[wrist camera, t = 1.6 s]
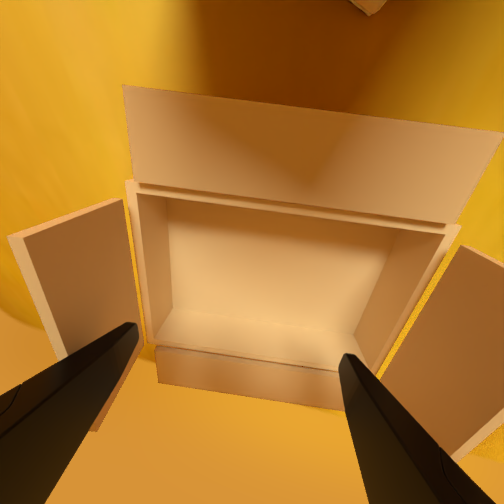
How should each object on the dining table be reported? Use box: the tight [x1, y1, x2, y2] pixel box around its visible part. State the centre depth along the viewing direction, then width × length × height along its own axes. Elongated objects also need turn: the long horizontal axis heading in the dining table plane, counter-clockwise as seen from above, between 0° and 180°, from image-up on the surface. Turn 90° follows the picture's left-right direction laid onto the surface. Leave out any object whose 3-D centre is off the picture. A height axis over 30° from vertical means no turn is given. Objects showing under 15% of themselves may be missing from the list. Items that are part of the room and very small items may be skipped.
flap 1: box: [6, 198, 144, 432], centre depth 10 cm, size 5×10×1 cm
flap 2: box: [380, 245, 504, 463], centre depth 9 cm, size 5×10×1 cm
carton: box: [122, 85, 504, 411], centre depth 14 cm, size 16×18×4 cm
